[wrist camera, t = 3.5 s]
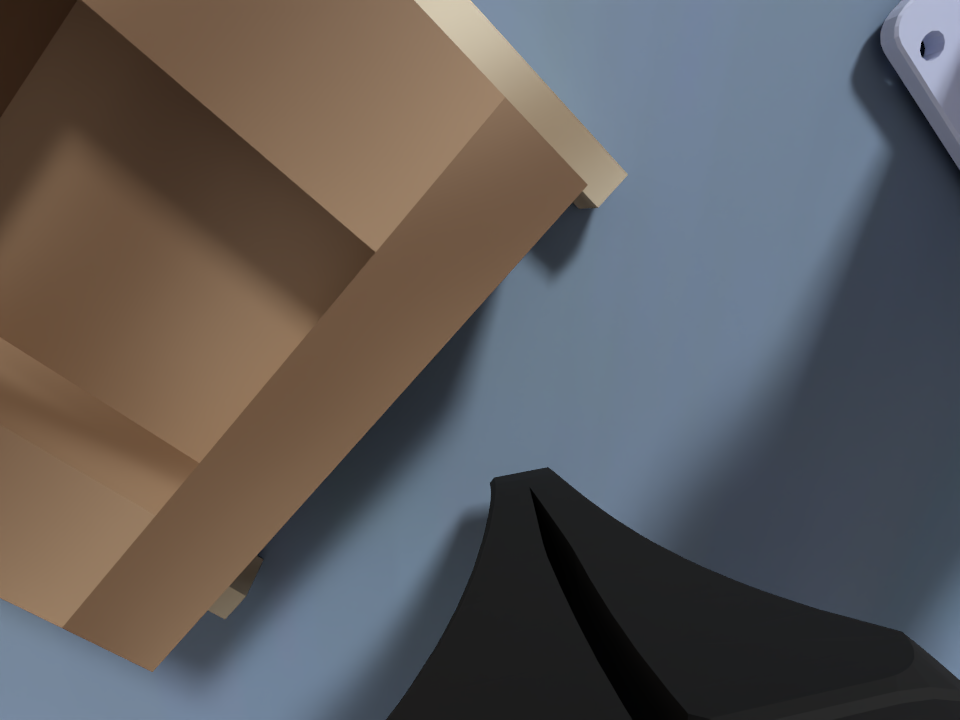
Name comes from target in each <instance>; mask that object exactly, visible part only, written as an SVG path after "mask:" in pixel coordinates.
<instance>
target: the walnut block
mask: <svg viewBox="0 0 960 720" xmlns="http://www.w3.org/2000/svg"><path fill="white" fill-rule="evenodd" d="M587 185H588V184H587V183H586V182H585V181H584V180H583V179H582V178H581V177H580V176H579V175H578V174H577V173H576V172H575V171H574V170H573V169H572V167H571V166H570V165H569V164H568V163H567V162H566V161H565V160H564V159H563V158H562V157H561V156H560V155H559V154H558V153H557V152H556V150H555V149H554V148H553V147H552V146H551V145H550V144H549V143H548V142H547V141H546V140H545V139H544V138H543V137H542V136H541V135H540V133H539V132H538V131H537V130H536V129H535V128H534V127H533V126H532V125H531V124H530V123H529V122H528V121H527V120H526V119H525V118H524V116H523V115H522V114H521V113H520V112H519V111H518V110H517V109H516V108H515V107H514V106H513V105H512V104H511V103H510V102H509V101H508V99H507V98H506V97H505V96H504V95H503V94H502V93H501V92H500V91H499V90H498V89H497V88H496V87H495V86H494V85H493V83H492V82H491V81H490V80H489V79H488V78H487V77H486V76H485V75H484V74H483V73H482V72H481V71H480V70H479V69H478V68H477V66H476V65H475V64H474V63H473V62H472V61H471V60H470V59H469V58H468V57H467V56H466V55H465V54H464V53H463V52H462V51H461V49H460V48H459V47H458V46H457V45H456V44H455V43H454V42H453V41H452V40H451V39H450V38H449V37H448V36H447V35H446V34H445V32H444V31H443V30H442V29H441V28H440V27H439V26H438V25H437V24H436V23H435V22H434V21H433V20H432V19H431V18H430V17H429V15H428V14H427V13H426V12H425V11H424V10H423V9H422V8H421V7H420V6H419V5H418V4H417V3H416V2H415V1H414V0H0V598H1V599H3V600H6V601H8V602H10V603H12V604H14V605H16V606H18V607H20V608H22V609H24V610H26V611H28V612H30V613H32V614H34V615H36V616H38V617H40V618H42V619H45V620H47V621H49V622H51V623H53V624H55V625H57V626H59V627H61V628H63V629H65V630H67V631H69V632H71V633H73V634H75V635H77V636H79V637H82V638H84V639H86V640H88V641H90V642H92V643H94V644H96V645H98V646H100V647H102V648H104V649H106V650H108V651H110V652H112V653H114V654H116V655H119V656H121V657H123V658H125V659H127V660H129V661H131V662H133V663H135V664H137V665H139V666H141V667H143V668H145V669H147V670H149V671H151V672H153V671H154V670H155V669H156V667H157V666H158V665H159V664H160V663H161V662H162V661H163V660H164V658H165V657H166V656H167V655H168V654H169V653H170V652H171V651H172V650H173V648H174V647H175V646H176V645H177V644H178V643H179V642H180V641H181V639H182V638H183V637H184V636H185V635H186V634H187V633H188V632H189V631H190V629H191V628H192V627H193V626H194V625H195V624H196V623H197V622H198V620H199V619H200V618H201V617H202V616H203V615H204V614H205V613H206V612H207V610H208V609H209V608H210V607H211V606H212V605H213V604H214V603H215V601H216V600H217V599H218V598H219V597H220V596H221V595H222V594H223V593H224V591H225V590H226V589H227V588H228V587H229V586H230V585H231V584H232V582H233V581H234V580H235V579H236V578H237V577H238V576H239V575H240V573H241V572H242V571H243V570H244V569H245V568H246V567H247V566H248V565H249V563H250V562H251V561H252V560H253V559H254V558H255V557H256V556H257V554H258V553H259V552H260V551H261V550H262V549H263V548H264V547H265V546H266V544H267V543H268V542H269V541H270V540H271V539H272V538H273V537H274V535H275V534H276V533H277V532H278V531H279V530H280V529H281V528H282V527H283V525H284V524H285V523H286V522H287V521H288V520H289V519H290V518H291V516H292V515H293V514H294V513H295V512H296V511H297V510H298V509H299V508H300V506H301V505H302V504H303V503H304V502H305V501H306V500H307V499H308V497H309V496H310V495H311V494H312V493H313V492H314V491H315V490H316V488H317V487H318V486H319V485H320V484H321V483H322V482H323V481H324V480H325V478H326V477H327V476H328V475H329V474H330V473H331V472H332V471H333V469H334V468H335V467H336V466H337V465H338V464H339V463H340V462H341V461H342V459H343V458H344V457H345V456H346V455H347V454H348V453H349V452H350V450H351V449H352V448H353V447H354V446H355V445H356V444H357V443H358V442H359V440H360V439H361V438H362V437H363V436H364V435H365V434H366V433H367V431H368V430H369V429H370V428H371V427H372V426H373V425H374V424H375V423H376V421H377V420H378V419H379V418H380V417H381V416H382V415H383V414H384V412H385V411H386V410H387V409H388V408H389V407H390V406H391V405H392V403H393V402H394V401H395V400H396V399H397V398H398V397H399V396H400V395H401V393H402V392H403V391H404V390H405V389H406V388H407V387H408V386H409V384H410V383H411V382H412V381H413V380H414V379H415V378H416V377H417V376H418V374H419V373H420V372H421V371H422V370H423V369H424V368H425V367H426V365H427V364H428V363H429V362H430V361H431V360H432V359H433V358H434V357H435V355H436V354H437V353H438V352H439V351H440V350H441V349H442V348H443V346H444V345H445V344H446V343H447V342H448V341H449V340H450V339H451V338H452V336H453V335H454V334H455V333H456V332H457V331H458V330H459V329H460V327H461V326H462V325H463V324H464V323H465V322H466V321H467V320H468V318H469V317H470V316H471V315H472V314H473V313H474V312H475V311H476V310H477V308H478V307H479V306H480V305H481V304H482V303H483V302H484V301H485V299H486V298H487V297H488V296H489V295H490V294H491V293H492V292H493V291H494V289H495V288H496V287H497V286H498V285H499V284H500V283H501V282H502V280H503V279H504V278H505V277H506V276H507V275H508V274H509V273H510V272H511V270H512V269H513V268H514V267H515V266H516V265H517V264H518V263H519V261H520V260H521V259H522V258H523V257H524V256H525V255H526V254H527V253H528V251H529V250H530V249H531V248H532V247H533V246H534V245H535V244H536V242H537V241H538V240H539V239H540V238H541V237H542V236H543V235H544V233H545V232H546V231H547V230H548V229H549V228H550V227H551V226H552V225H553V223H554V222H555V221H556V220H557V219H558V218H559V217H560V216H561V214H562V213H563V212H564V211H565V210H566V209H567V208H568V207H569V206H570V204H571V203H572V202H573V201H574V200H575V199H576V198H577V197H578V195H579V194H580V193H581V192H582V191H583V190H584V189H585V188H586V187H587Z"/></svg>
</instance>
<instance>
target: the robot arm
mask: <svg viewBox="0 0 960 720" xmlns="http://www.w3.org/2000/svg"><path fill="white" fill-rule="evenodd" d="M922 41H923V42H924V46H925V52H924V56H923V58H922V56H921V53H920V46H921V42H922ZM881 46H882V49H883V51H884V53H885V55H886V56H887V58H888V60H889V61H890V63H891V64H892V66H893V67H894V69H895V70H896V72H897V73H898V75H899V77H900V78H901V80H902V81H903V83H904V84H905V86H906V87H907V89H908V91H909V92H910V94H911V95H912V97H913V98H914V100H915V101H916V103H917V104H918V106H919V108H920V109H921V111H922V112H923V114H924V115H925V117H926V118H927V120H928V122H929V123H930V125H931V126H932V128H933V129H934V131H935V132H936V134H937V135H938V137H939V139H940V140H941V142H942V143H943V145H944V146H945V148H946V149H947V151H948V153H949V154H950V156H951V157H952V159H953V160H954V162H955V163H956V165H957V166H958V168H959V170H960V0H902V1H901V2H900V3H899V4H898V5H897V6H896V7H895V8H894V9H893V10H892V11H891V12H890V14H889V15H888V17H887V18H886V20H885V21H884V24H883V27H882V30H881ZM490 486H491V502H490V509H489V515H488V519H487V524H486V528H485V533H484V537H483V540H482V544H481V547H480V550H479V553H478V556H477V559H476V562H475V566H474V568H473V571H472V574H471V576H470V579H469V581H468V584H467V586H466V588H465V591H464V593H463V595H462V597H461V600H460V602H459V604H458V606H457V608H456V610H455V612H454V614H453V616H452V618H451V620H450V622H449V624H448V626H447V628H446V630H445V632H444V633H443V635H442V637H441V639H440V640H439V642H438V644H437V646H436V647H435V649H434V651H433V652H432V654H431V655H430V657H429V658H428V660H427V662H426V663H425V665H424V666H423V668H422V669H421V671H420V672H419V674H418V676H417V677H416V679H415V680H414V682H413V683H412V685H411V686H410V688H409V689H408V691H407V692H406V694H405V695H404V697H403V698H402V699H401V701H400V702H399V703H398V705H397V706H396V707H395V709H394V710H393V711H392V713H391V714H390V715H389V716H388V718H387V719H386V720H960V680H959V679H958V678H956V677H955V676H954V675H953V674H952V673H951V672H950V671H948V670H947V669H946V668H945V667H944V666H943V665H942V664H940V663H939V662H938V661H937V660H936V659H935V658H933V657H932V656H931V655H930V654H929V653H927V652H926V651H925V650H924V649H923V648H921V647H920V646H919V645H918V644H917V643H915V642H914V641H913V640H912V639H910V638H909V637H908V636H906V635H905V634H904V633H903V632H901V631H897V630H894V629H890V628H886V627H882V626H879V625H875V624H871V623H867V622H864V621H860V620H856V619H852V618H849V617H845V616H841V615H838V614H834V613H830V612H826V611H823V610H819V609H816V608H812V607H809V606H806V605H803V604H800V603H797V602H794V601H791V600H788V599H785V598H782V597H779V596H776V595H773V594H770V593H767V592H764V591H762V590H759V589H756V588H753V587H751V586H748V585H745V584H743V583H740V582H738V581H735V580H733V579H730V578H728V577H726V576H723V575H721V574H718V573H716V572H714V571H711V570H709V569H707V568H704V567H702V566H700V565H698V564H695V563H693V562H691V561H689V560H687V559H685V558H683V557H681V556H679V555H677V554H675V553H673V552H671V551H669V550H667V549H665V548H663V547H661V546H660V545H658V544H656V543H654V542H652V541H650V540H649V539H647V538H645V537H643V536H642V535H640V534H638V533H637V532H635V531H633V530H632V529H630V528H629V527H627V526H625V525H624V524H622V523H621V522H619V521H618V520H616V519H615V518H613V517H612V516H610V515H609V514H607V513H606V512H605V511H603V510H602V509H601V508H599V507H598V506H596V505H595V504H594V503H592V502H591V501H590V500H588V499H587V498H586V497H584V496H583V495H582V494H581V493H579V492H578V491H577V490H576V489H574V488H573V487H572V486H571V485H569V484H568V483H567V482H566V481H564V480H563V479H562V478H561V477H560V476H558V475H557V474H556V473H555V472H554V471H552V470H551V469H550V468H548V467H547V468H542V469H537V470H532V471H526V472H521V473H516V474H511V475H505V476H500V477H495V478H494V479H493V480H492V481H491V482H490Z"/></svg>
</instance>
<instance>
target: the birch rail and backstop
mask: <svg viewBox="0 0 960 720" xmlns="http://www.w3.org/2000/svg"><path fill="white" fill-rule="evenodd" d="M414 1H415V2H416V3H417V4H418V5H419V6H420V7H421V8H422V9H423V10H424V11H425V12H426V13H427V14H428V15H429V17H430V18H431V19H432V20H433V21H434V22H435V23H436V24H437V25H438V26H439V27H440V28H441V29H442V30H443V31H444V32H445V34H446V35H447V36H448V37H449V38H450V39H451V40H452V41H453V42H454V43H455V44H456V45H457V46H458V47H459V48H460V49H461V51H462V52H463V53H464V54H465V55H466V56H467V57H468V58H469V59H470V60H471V61H472V62H473V63H474V64H475V65H476V66H477V68H478V69H479V70H480V71H481V72H482V73H483V74H484V75H485V76H486V77H487V78H488V79H489V80H490V81H491V82H492V83H493V85H494V86H495V87H496V88H497V89H498V90H499V91H500V92H501V93H502V94H503V95H504V96H505V97H506V98H507V99H508V101H509V102H510V103H511V104H512V105H513V106H514V107H515V108H516V109H517V110H518V111H519V112H520V113H521V114H522V115H523V116H524V118H525V119H526V120H527V121H528V122H529V123H530V124H531V125H532V126H533V127H534V128H535V129H536V130H537V131H538V132H539V133H540V135H541V136H542V137H543V138H544V139H545V140H546V141H547V142H548V143H549V144H550V145H551V146H552V147H553V148H554V149H555V150H556V152H557V153H558V154H559V155H560V156H561V157H562V158H563V159H564V160H565V161H566V162H567V163H568V164H569V165H570V166H571V167H572V169H573V170H574V171H575V172H576V173H577V174H578V175H579V176H580V177H581V178H582V179H583V180H584V181H585V182H586V183H587V184H588V185H587V187H586V188H585V189H584V190H583V191H582V192H581V193H580V194H579V195H578V197H577V198H576V199H575V200H574V201H573V203H574V204H575V205H576V206H577V207H578V208H579V209H584V208H598V207H599V206H600V205H601V204H602V203H603V202H604V201H605V199H606V198H607V197H608V196H609V195H610V194H611V193H612V192H613V191H614V190H615V188H616V187H617V186H618V185H619V184H620V183H621V182H622V181H623V180H624V178H625V177H626V176H627V175H628V174H627V173H626V172H625V171H624V170H623V169H622V168H621V166H620V165H619V164H618V163H617V162H616V161H615V160H614V159H613V158H612V156H611V155H610V154H609V153H608V152H607V151H606V150H605V149H604V148H603V147H602V145H601V144H600V143H599V142H598V141H597V140H596V139H595V138H594V137H593V135H592V134H591V133H590V132H589V131H588V130H587V129H586V128H585V127H584V125H583V124H582V123H581V122H580V121H579V120H578V119H577V118H576V117H575V115H574V114H573V113H572V112H571V111H570V110H569V109H568V108H567V107H566V106H565V104H564V103H563V102H562V101H561V100H560V99H559V98H558V97H557V96H556V94H555V93H554V92H553V91H552V90H551V89H550V88H549V87H548V86H547V84H546V83H545V82H544V81H543V80H542V79H541V78H540V77H539V76H538V74H537V73H536V72H535V71H534V70H533V69H532V68H531V67H530V66H529V65H528V63H527V62H526V61H525V60H524V59H523V58H522V57H521V56H520V55H519V53H518V52H517V51H516V50H515V49H514V48H513V47H512V46H511V45H510V43H509V42H508V41H507V40H506V39H505V38H504V37H503V36H502V35H501V33H500V32H499V31H498V30H497V29H496V28H495V27H494V26H493V25H492V24H491V22H490V21H489V20H488V19H487V18H486V17H485V16H484V15H483V14H482V12H481V11H480V10H479V9H478V8H477V7H476V6H475V5H474V4H473V2H472V1H471V0H414ZM262 562H263V559H262V558H260V557H258V556H256V557H255V558H254V559H253V560H252V561H251V562H250V563H249V565H248V566H247V567H246V568H245V569H244V570H243V571H242V572H241V573H240V575H239V576H238V577H237V578H236V579H235V580H234V581H233V582H232V584H231V585H230V586H229V587H228V588H227V589H226V590H225V591H224V593H223V594H222V595H221V596H220V597H219V598H218V599H217V600H216V601H215V603H214V604H213V605H212V606H211V607H210V608H209V609H208V611H210V612H212V613H214V614H216V615H218V616H219V617H221V618H223V619H226V618H227V617H228V616H229V615H230V614H231V612H232V611H233V610H234V609H235V608H236V607H237V606H238V605H239V604H240V602H241V601H242V600H243V599H244V598H245V597H246V596H247V593H248V591H249V589H250V587H251V585H252V583H253V581H254V579H255V577H256V575H257V572H258V570H259V568H260V566H261V564H262Z"/></svg>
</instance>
